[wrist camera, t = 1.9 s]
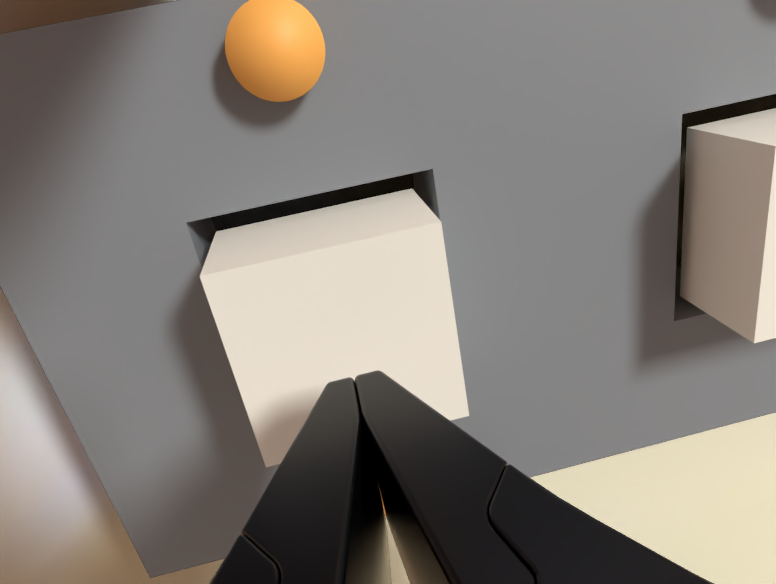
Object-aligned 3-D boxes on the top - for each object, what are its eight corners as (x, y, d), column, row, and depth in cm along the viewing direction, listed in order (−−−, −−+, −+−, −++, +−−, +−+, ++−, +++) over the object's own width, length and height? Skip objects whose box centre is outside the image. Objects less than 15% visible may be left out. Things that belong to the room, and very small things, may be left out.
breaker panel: (870, 324, 18) (978, 376, 15) (169, 503, 16) (144, 599, 13) (965, -137, 13) (1155, -188, 10) (-37, 53, 11) (-145, 57, 8)
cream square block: (439, 354, 13) (469, 416, 11) (268, 396, 13) (265, 467, 11) (411, 187, 12) (441, 221, 9) (215, 231, 11) (199, 276, 9)
